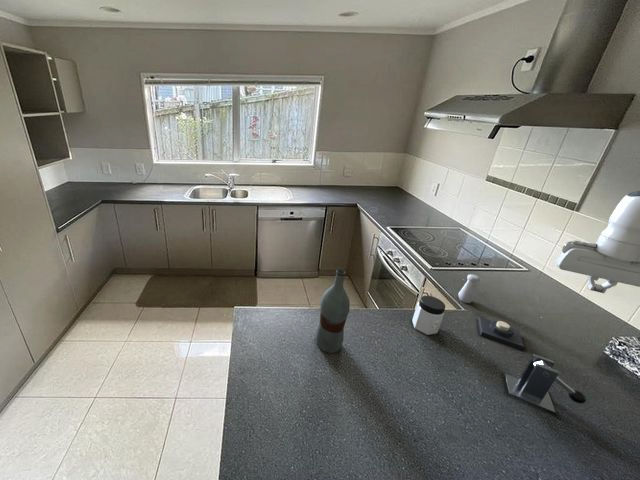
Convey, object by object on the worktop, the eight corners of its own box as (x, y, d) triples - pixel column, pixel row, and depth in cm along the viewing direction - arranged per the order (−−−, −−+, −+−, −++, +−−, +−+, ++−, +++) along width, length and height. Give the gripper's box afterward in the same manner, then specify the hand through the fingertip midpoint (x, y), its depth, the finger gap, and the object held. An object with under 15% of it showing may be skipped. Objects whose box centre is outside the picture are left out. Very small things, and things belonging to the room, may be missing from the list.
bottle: (309, 344, 98) (320, 270, 87) (322, 330, 104) (334, 260, 93) (333, 359, 92) (348, 283, 81) (346, 344, 98) (361, 271, 87)
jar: (422, 336, 103) (431, 310, 99) (406, 321, 111) (414, 296, 106) (442, 333, 105) (452, 307, 101) (425, 318, 112) (434, 294, 108)
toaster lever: (574, 398, 78) (587, 394, 77) (578, 407, 76) (592, 404, 74) (531, 362, 81) (542, 357, 80) (533, 369, 79) (545, 365, 77)
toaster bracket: (546, 393, 84) (565, 361, 79) (553, 415, 78) (575, 383, 73) (503, 376, 89) (519, 345, 84) (507, 395, 82) (525, 364, 78)
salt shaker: (458, 302, 123) (468, 277, 118) (455, 295, 128) (464, 271, 123) (474, 306, 121) (484, 281, 116) (470, 298, 126) (480, 274, 121)
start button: (507, 327, 105) (509, 323, 104) (508, 332, 102) (510, 329, 101) (495, 323, 106) (496, 319, 106) (496, 328, 104) (498, 325, 103)
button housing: (516, 334, 106) (520, 325, 105) (521, 351, 99) (526, 342, 97) (477, 321, 112) (481, 313, 111) (479, 336, 104) (483, 328, 103)
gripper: (570, 242, 79) (550, 283, 84) (686, 264, 69) (655, 309, 74) (563, 235, 84) (544, 274, 89) (671, 254, 74) (642, 297, 79)
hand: (595, 290), depth 81 cm, fingers closed
